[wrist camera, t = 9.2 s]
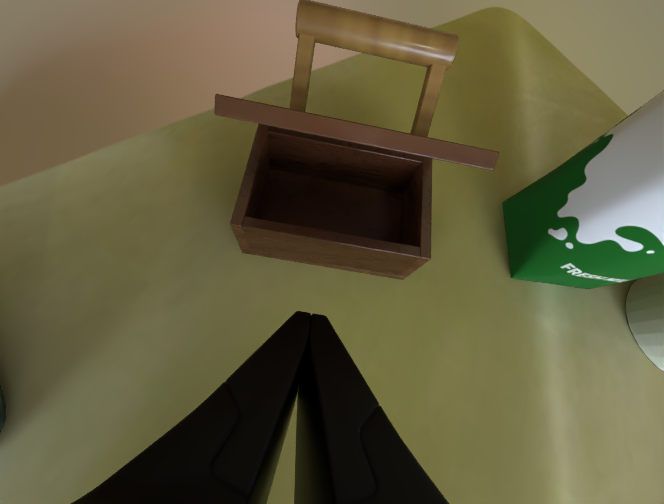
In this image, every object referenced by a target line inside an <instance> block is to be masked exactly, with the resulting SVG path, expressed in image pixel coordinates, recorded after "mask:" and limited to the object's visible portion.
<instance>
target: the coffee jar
mask: <svg viewBox="0 0 664 504" xmlns="http://www.w3.org/2000/svg"><path fill="white" fill-rule="evenodd" d="M5 418H6V406H5V400H4V396H3V393H2V390H1V385H0V432H1V430H2V428H3V425H4V422H5Z"/></svg>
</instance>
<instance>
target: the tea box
mask: <svg viewBox="0 0 664 504" xmlns="http://www.w3.org/2000/svg"><path fill="white" fill-rule="evenodd" d="M431 204H432V158H428V157H423V156H418V155H413V154H408V153H403V152H398V151H393V150H388V149H383V148H378V147H373V146H368V145H363V144H358V143H353V142H348V141H343V140H338V139H333V138H328V137H323V136H318V135H313V134H308V133H303V132H298V131H293V130H288V129H283V128H278V127H273V126H268V125H263V124H258V128H257V131H256V135H255V138H254V142H253V145H252V149H251V152H250V156H249V159H248V163H247V166H246V170H245V174H244V177H243V181H242V184H241V188H240V191H239V195H238V198H237V202H236V205H235V209H234V212H233V216H232V219H231V223H230V224H231V227H232V229H233V232H234V234H235V236H236V239H237V241H238V243H239V246H240V248H241V250H242V252H243V253H247V254H253V255H259V256H265V257H271V258H277V259H283V260H289V261H295V262H301V263H307V264H313V265H319V266H324V267H330V268H336V269H342V270H348V271H354V272H360V273H366V274H372V275H378V276H384V277H390V278H396V279H402V280H403V279H404V278H406V277H407V276H409V275H410V274H411V273H413V272H414V271H415V270H417V269H418V268H419V267H421V266H422V265H423V264H425V263H426V262H427V261H429V260H430V259H431Z"/></svg>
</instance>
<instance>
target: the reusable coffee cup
mask: <svg viewBox="0 0 664 504" xmlns="http://www.w3.org/2000/svg"><path fill="white" fill-rule="evenodd" d="M626 314H627V319H628V323H629V326H630V329H631V331H632V334H633V336H634V338H635V339H636V341H637V343H638V345H639V346H640V348H641V349H642V350H643V352H644V353H645V354H646V356H647V357H648V358H649V359H650V360H651V361H652V362H653V363H654V364H655V365H656V366H657V367H658V368H660V369H661V370H662V371H664V272H663V273H659V274H655V275H651V276H647V277H642V278H640V279H638V280H636V281H635V282H634V283H633V285H632V286H631V287H630V289H629V292H628V294H627V299H626Z"/></svg>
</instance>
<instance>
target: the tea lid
mask: <svg viewBox="0 0 664 504" xmlns="http://www.w3.org/2000/svg"><path fill="white" fill-rule="evenodd" d="M296 37H297V38H298V46H297V53H296V62H295V69H294V77H293V85H292V93H291V101H290V109H287V108H283V107H278V106H273V105H268V104H263V103H258V102H253V101H248V100H244V99H239V98H234V97H229V96H224V95H219V94H216V95H215V112H214V113H215V115H219V116H224V117H229V118H234V119H239V120H244V121H249V122H253V123H258V124H263V125H268V126H273V127H278V128H283V129H288V130H293V131H298V132H303V133H308V134H313V135H318V136H323V137H328V138H333V139H338V140H343V141H348V142H353V143H358V144H363V145H368V146H373V147H378V148H383V149H388V150H393V151H398V152H403V153H408V154H413V155H418V156H423V157H428V158H433V159H438V160H443V161H448V162H453V163H458V164H463V165H468V166H473V167H478V168H483V169H488V170H494V167H495V164H496V162H497V159H498V156H499V152H497V151H492V150H487V149H482V148H477V147H472V146H467V145H463V144H458V143H453V142H448V141H443V140H438V139H433V138H428V137H427V136H428V132H429V128H430V125H431V121H432V118H433V114H434V110H435V107H436V103H437V100H438V96H439V93H440V89H441V85H442V82H443V78H444V75H445V71H447V70H448V69H449V68H450V66H451V64H452V62H453V60H454V58H455V56H456V53H457V49H458V45H459V36H458V35H456V34H452V33H448V32H444V31H439V30H435V29H431V28H426V27H422V26H418V25H413V24H409V23H405V22H400V21H396V20H392V19H388V18H383V17H379V16H375V15H371V14H366V13H362V12H358V11H353V10H349V9H345V8H341V7H336V6H332V5H328V4H323V3H319V2H314V1H311V0H299V3H298V8H297V16H296ZM315 42H316V43H321V44H326V45H330V46H334V47H339V48H343V49H348V50H352V51H357V52H361V53H366V54H370V55H375V56H379V57H384V58H388V59H393V60H397V61H402V62H406V63H410V64H415V65H419V66H424V67H428V68H427V72H426V76H425V80H424V84H423V87H422V91H421V95H420V99H419V103H418V107H417V111H416V114H415V118H414V122H413V126H412V130H411V134H409V133H404V132H399V131H394V130H390V129H385V128H380V127H375V126H370V125H365V124H360V123H356V122H351V121H346V120H341V119H336V118H331V117H326V116H321V115H317V114H312V113H307V112H305V110H306V103H307V96H308V89H309V82H310V75H311V68H312V61H313V54H314V47H315Z"/></svg>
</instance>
